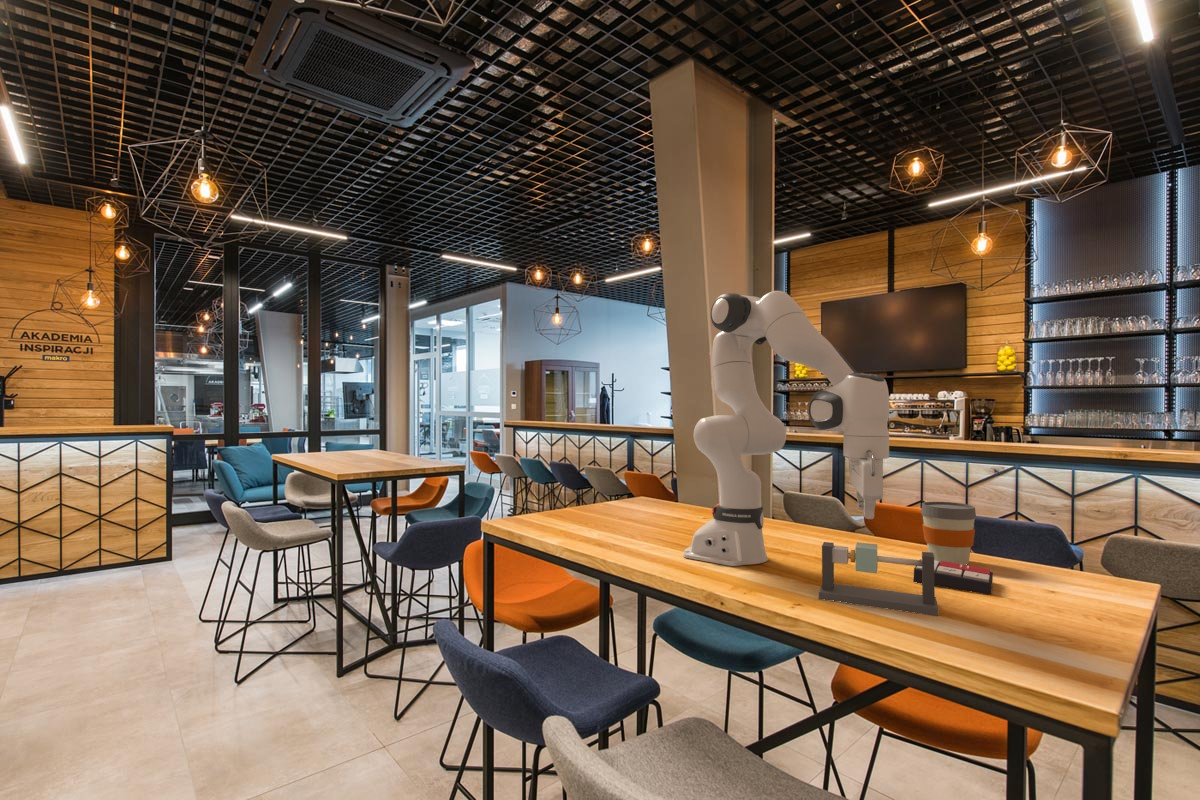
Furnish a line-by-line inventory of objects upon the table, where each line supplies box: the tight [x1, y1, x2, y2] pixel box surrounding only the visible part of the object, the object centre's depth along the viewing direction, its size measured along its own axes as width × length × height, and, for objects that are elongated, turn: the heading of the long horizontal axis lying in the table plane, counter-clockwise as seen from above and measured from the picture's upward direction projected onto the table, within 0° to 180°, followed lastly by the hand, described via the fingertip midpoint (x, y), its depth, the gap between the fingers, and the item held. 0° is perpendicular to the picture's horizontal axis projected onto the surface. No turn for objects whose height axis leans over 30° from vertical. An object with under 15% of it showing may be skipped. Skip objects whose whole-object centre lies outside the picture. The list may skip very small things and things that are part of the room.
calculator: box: [913, 558, 994, 596], centre depth 134 cm, size 11×4×15 cm
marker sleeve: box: [854, 541, 879, 574], centre depth 121 cm, size 4×5×5 cm
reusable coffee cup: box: [920, 501, 977, 565], centre depth 152 cm, size 13×13×15 cm
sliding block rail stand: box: [818, 541, 939, 617], centre depth 120 cm, size 22×8×11 cm, turn 63°
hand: (865, 513), depth 122 cm, fingers open, 8 cm apart
